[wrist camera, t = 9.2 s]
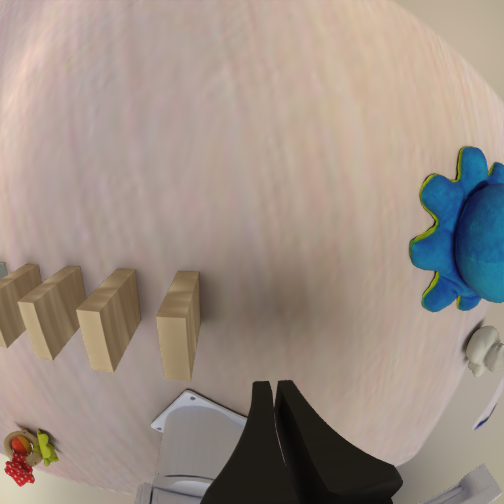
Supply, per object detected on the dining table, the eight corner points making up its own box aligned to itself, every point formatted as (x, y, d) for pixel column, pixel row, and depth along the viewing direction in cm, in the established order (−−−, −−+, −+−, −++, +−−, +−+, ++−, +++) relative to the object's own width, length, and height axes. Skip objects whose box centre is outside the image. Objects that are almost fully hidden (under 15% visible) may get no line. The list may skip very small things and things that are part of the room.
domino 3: (135, 269, 20) (99, 312, 14) (141, 319, 22) (113, 372, 15) (116, 268, 20) (76, 309, 14) (123, 318, 22) (92, 369, 15)
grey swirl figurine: (492, 317, 26) (531, 346, 18) (473, 360, 27) (506, 392, 20) (470, 320, 25) (512, 354, 17) (450, 366, 27) (484, 403, 19)
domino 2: (79, 266, 20) (33, 303, 13) (90, 314, 21) (53, 360, 15) (65, 266, 20) (17, 301, 13) (75, 313, 21) (37, 357, 15)
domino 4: (198, 271, 21) (185, 318, 14) (200, 323, 22) (190, 380, 15) (177, 271, 21) (156, 316, 14) (180, 322, 22) (165, 378, 15)
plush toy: (420, 126, 19) (491, 118, 11) (516, 172, 21) (568, 182, 13) (389, 310, 24) (439, 361, 16) (489, 305, 25) (532, 335, 17)
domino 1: (38, 264, 20) (-11, 295, 13) (47, 309, 21) (7, 348, 14) (26, 264, 20) (-22, 293, 13) (36, 307, 21) (-5, 344, 14)
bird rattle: (39, 433, 29) (71, 464, 27) (-1, 462, 19) (29, 499, 16) (25, 410, 28) (57, 442, 25) (-19, 440, 17) (10, 479, 15)
